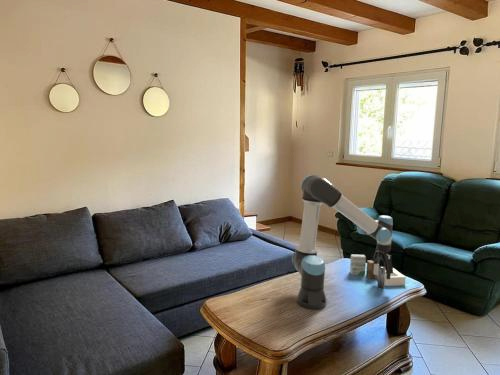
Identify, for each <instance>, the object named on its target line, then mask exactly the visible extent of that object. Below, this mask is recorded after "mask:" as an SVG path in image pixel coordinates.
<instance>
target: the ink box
mask: <svg viewBox="0 0 500 375" xmlns="http://www.w3.org/2000/svg"><path fill="white" fill-rule="evenodd" d="M349 267H350V268H349V273H350V275H355V276H357V275H359V276H366V267H367V257H366V255H365V254H350V266H349Z"/></svg>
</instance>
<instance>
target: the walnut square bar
mask: <svg viewBox="0 0 500 375" xmlns="http://www.w3.org/2000/svg"><path fill="white" fill-rule="evenodd" d="M373 273H374V261H372V259H370V260H367V259H366V269H365V276H366V277H367V279H376V277H375V275H374V274H373Z"/></svg>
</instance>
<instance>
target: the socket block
mask: <svg viewBox="0 0 500 375" xmlns="http://www.w3.org/2000/svg"><path fill="white" fill-rule="evenodd" d="M385 272H386V269H385ZM375 279H377V280H378V275H375ZM384 283H385V279H384ZM405 285H406V276H405V275H404V274H402V273H401V272H399V271H398V270H397V269H396V268H394V267H393V273H392V274H391V275H390V284H384V287H385V286H386V287H388V286H389V287H390V286H391V287H393V286H405Z"/></svg>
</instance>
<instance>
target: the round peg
mask: <svg viewBox="0 0 500 375" xmlns="http://www.w3.org/2000/svg"><path fill="white" fill-rule="evenodd" d="M384 279H385V266H382V265H381V266H380V265H379V270H378V279H377V284H376V288H377V289H379V288H380V290H383V289H385V285H384Z"/></svg>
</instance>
